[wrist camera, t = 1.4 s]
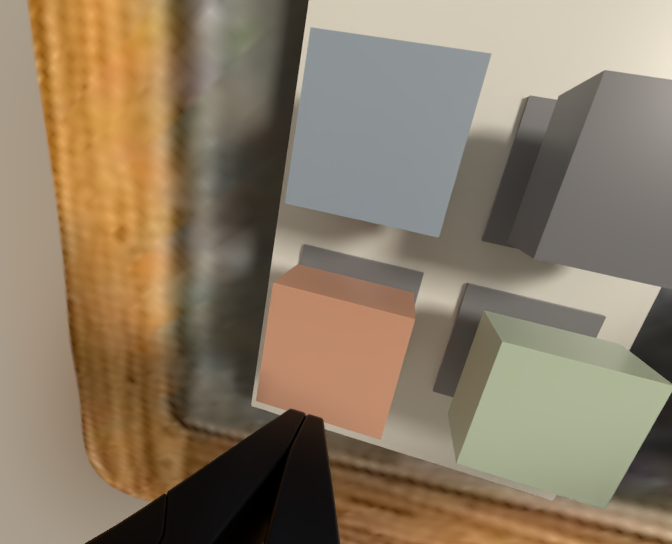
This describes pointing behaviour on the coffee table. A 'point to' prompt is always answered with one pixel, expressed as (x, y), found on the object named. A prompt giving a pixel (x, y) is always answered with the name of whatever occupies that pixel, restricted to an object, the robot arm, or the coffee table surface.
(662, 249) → the charcoal key
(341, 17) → the keypad board
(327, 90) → the slate key
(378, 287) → the terracotta key
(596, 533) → the coffee table surface
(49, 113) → the coffee table surface
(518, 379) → the sage key
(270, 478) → the robot arm
